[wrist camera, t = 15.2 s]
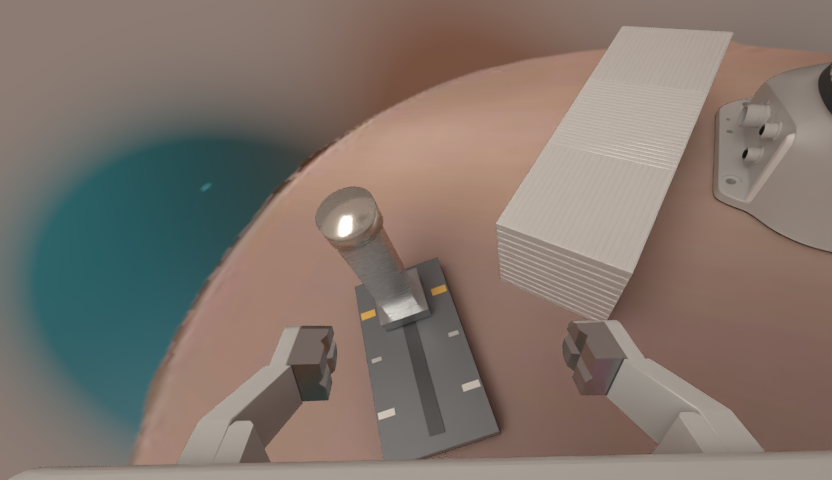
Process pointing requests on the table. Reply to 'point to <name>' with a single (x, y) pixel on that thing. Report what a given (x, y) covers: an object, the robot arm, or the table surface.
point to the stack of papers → (608, 170)
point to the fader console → (424, 377)
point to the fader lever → (372, 255)
